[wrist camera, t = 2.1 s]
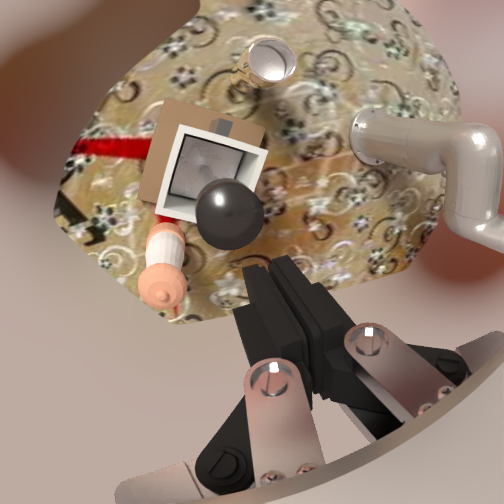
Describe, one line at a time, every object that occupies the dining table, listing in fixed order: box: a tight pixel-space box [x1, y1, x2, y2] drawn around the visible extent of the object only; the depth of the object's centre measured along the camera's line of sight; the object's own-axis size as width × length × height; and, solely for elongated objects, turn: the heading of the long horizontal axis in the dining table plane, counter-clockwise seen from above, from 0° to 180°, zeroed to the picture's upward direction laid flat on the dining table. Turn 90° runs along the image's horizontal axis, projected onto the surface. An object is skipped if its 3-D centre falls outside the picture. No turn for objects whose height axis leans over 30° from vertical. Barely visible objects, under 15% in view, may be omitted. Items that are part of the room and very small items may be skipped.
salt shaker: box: [138, 223, 187, 309], centre depth 43 cm, size 7×7×19 cm
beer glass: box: [230, 38, 297, 93], centre depth 35 cm, size 7×7×15 cm
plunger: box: [170, 136, 264, 250], centre depth 27 cm, size 8×8×20 cm
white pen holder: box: [137, 98, 268, 223], centre depth 38 cm, size 18×18×20 cm
